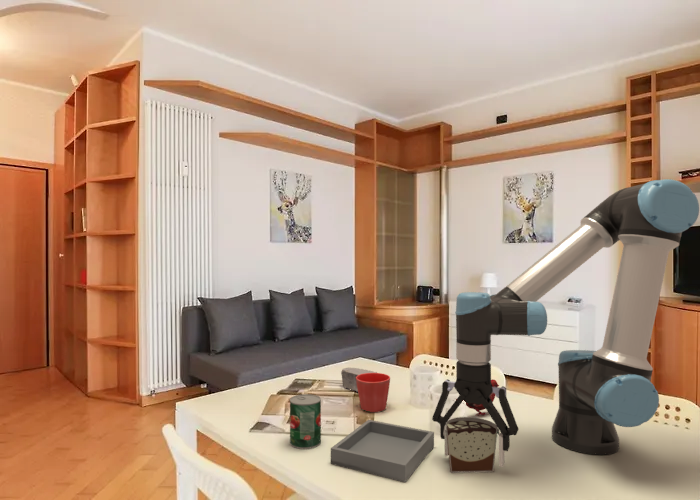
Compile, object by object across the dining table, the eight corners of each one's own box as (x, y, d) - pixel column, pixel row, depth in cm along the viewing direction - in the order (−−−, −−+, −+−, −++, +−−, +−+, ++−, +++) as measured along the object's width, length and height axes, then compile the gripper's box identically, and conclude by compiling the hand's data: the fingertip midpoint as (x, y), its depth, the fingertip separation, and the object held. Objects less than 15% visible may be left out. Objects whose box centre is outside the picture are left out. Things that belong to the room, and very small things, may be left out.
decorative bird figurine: (502, 413, 134) (502, 379, 135) (455, 422, 127) (455, 387, 127) (495, 410, 137) (495, 377, 137) (449, 419, 129) (449, 384, 130)
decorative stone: (374, 397, 151) (384, 388, 160) (374, 376, 151) (384, 368, 160) (335, 392, 157) (347, 383, 166) (334, 372, 157) (346, 365, 166)
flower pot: (349, 411, 136) (349, 379, 137) (365, 400, 146) (365, 370, 146) (381, 416, 132) (381, 383, 132) (395, 405, 141) (395, 374, 141)
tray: (434, 446, 111) (434, 431, 111) (405, 482, 94) (405, 465, 94) (368, 432, 120) (368, 419, 120) (330, 463, 102) (330, 448, 102)
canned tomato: (327, 443, 113) (327, 399, 113) (301, 452, 108) (301, 406, 108) (308, 433, 119) (308, 392, 119) (283, 441, 114) (283, 398, 114)
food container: (490, 458, 104) (490, 415, 104) (500, 471, 98) (499, 425, 98) (437, 459, 104) (437, 416, 104) (444, 472, 98) (444, 426, 98)
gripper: (531, 363, 99) (532, 462, 99) (427, 352, 110) (428, 442, 110) (527, 371, 92) (528, 478, 92) (417, 359, 103) (418, 454, 103)
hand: (474, 458), depth 101 cm, fingers closed on food container, 11 cm apart
